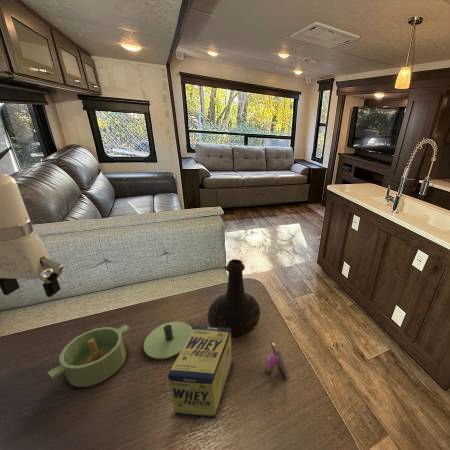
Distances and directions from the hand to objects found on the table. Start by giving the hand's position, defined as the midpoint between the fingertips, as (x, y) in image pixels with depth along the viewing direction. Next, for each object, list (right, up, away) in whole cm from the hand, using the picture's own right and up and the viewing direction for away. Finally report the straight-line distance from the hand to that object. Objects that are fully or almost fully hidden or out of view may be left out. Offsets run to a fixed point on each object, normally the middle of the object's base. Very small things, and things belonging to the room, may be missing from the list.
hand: (33, 292), depth 61 cm
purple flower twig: (+59, -28, +15) cm, 67 cm away
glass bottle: (+43, -21, +29) cm, 56 cm away
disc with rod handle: (+7, -24, +11) cm, 27 cm away
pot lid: (+23, -21, +21) cm, 38 cm away
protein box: (+40, -29, +8) cm, 50 cm away
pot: (+7, -24, +11) cm, 28 cm away
